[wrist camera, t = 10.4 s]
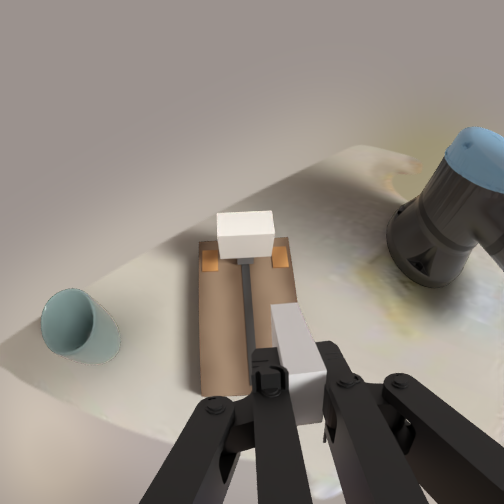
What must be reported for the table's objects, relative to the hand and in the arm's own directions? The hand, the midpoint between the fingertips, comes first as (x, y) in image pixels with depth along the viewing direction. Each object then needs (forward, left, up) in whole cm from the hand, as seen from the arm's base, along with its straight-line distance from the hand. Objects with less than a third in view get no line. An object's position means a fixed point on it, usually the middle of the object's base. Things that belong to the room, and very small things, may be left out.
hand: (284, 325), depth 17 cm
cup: (+21, -4, -22) cm, 31 cm away
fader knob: (+1, -14, -18) cm, 23 cm away
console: (+1, -7, -22) cm, 23 cm away
